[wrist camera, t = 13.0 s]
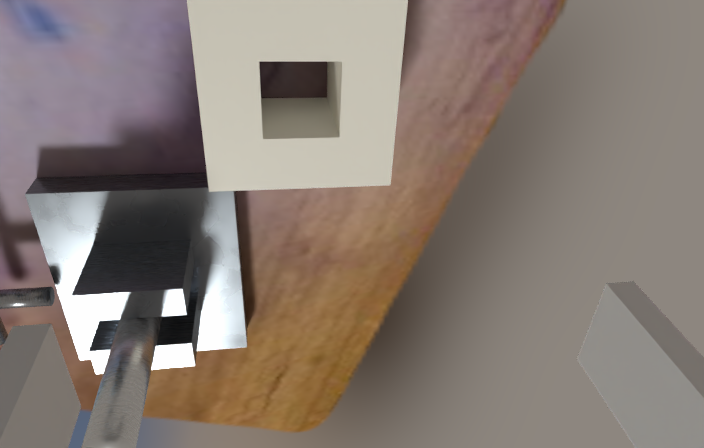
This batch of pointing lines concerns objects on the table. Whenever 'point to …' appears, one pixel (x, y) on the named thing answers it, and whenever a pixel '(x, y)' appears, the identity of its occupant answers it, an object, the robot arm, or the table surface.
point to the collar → (298, 113)
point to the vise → (137, 281)
